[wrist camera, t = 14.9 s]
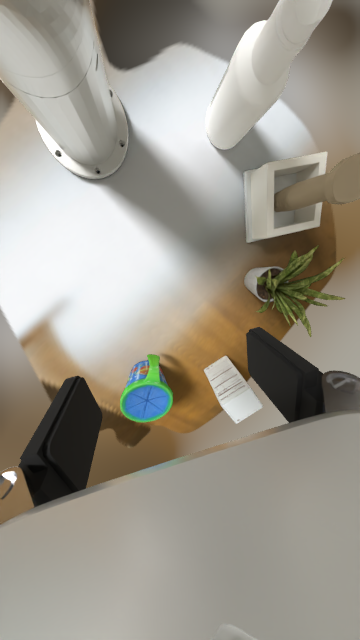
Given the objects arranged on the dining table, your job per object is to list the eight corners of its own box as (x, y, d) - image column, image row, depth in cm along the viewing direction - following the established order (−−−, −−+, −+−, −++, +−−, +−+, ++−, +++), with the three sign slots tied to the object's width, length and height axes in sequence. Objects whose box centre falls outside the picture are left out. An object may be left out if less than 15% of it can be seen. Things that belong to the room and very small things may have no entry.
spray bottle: (250, 115, 31) (371, -29, 15) (230, 159, 33) (316, 75, 16) (217, 84, 29) (315, -127, 12) (197, 133, 31) (259, 6, 14)
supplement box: (237, 371, 52) (264, 407, 40) (215, 385, 52) (235, 425, 41) (226, 353, 49) (251, 387, 37) (202, 369, 49) (220, 407, 38)
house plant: (292, 293, 45) (364, 317, 31) (242, 322, 46) (290, 359, 31) (277, 237, 39) (357, 233, 25) (220, 270, 40) (266, 286, 25)
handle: (258, 195, 35) (332, 164, 21) (289, 182, 35) (383, 142, 21) (262, 222, 37) (333, 209, 23) (292, 210, 37) (379, 190, 23)
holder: (243, 172, 34) (262, 158, 28) (302, 161, 35) (332, 146, 29) (246, 242, 39) (263, 242, 33) (298, 230, 40) (323, 228, 34)
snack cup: (156, 398, 50) (159, 433, 41) (117, 392, 47) (110, 429, 38) (176, 350, 46) (185, 377, 36) (134, 340, 43) (132, 367, 33)
